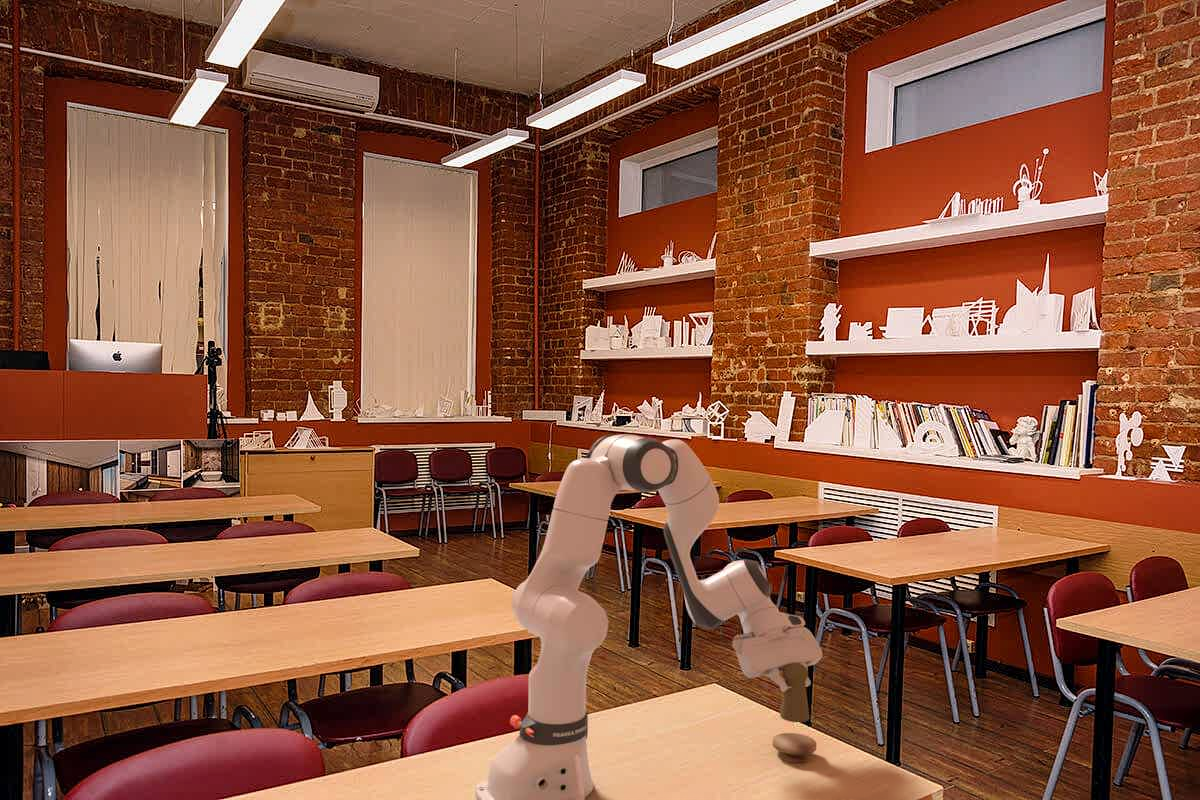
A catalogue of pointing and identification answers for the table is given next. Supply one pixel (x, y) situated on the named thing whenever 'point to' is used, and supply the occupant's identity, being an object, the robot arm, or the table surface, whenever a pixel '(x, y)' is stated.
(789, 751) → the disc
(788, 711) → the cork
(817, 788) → the table surface
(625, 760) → the table surface
